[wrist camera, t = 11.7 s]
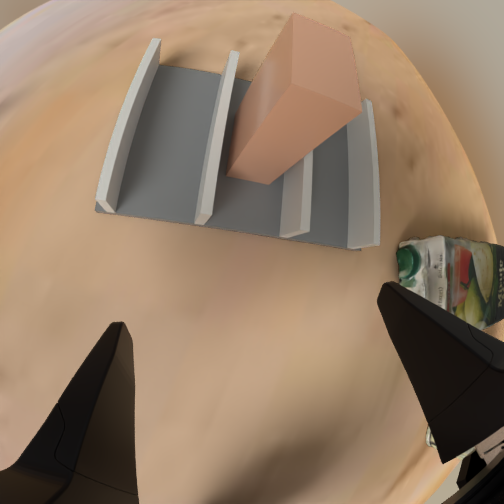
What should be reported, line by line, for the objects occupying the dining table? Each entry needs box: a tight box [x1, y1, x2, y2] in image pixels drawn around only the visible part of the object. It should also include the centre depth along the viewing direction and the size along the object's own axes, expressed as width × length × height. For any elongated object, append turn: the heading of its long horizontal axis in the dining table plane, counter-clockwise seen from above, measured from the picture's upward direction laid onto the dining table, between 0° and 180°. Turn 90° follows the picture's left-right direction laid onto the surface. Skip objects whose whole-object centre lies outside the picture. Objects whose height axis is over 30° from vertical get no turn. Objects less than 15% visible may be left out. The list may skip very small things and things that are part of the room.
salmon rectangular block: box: [226, 13, 362, 185], centre depth 13 cm, size 5×3×10 cm, turn 174°
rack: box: [95, 38, 380, 251], centre depth 17 cm, size 12×19×4 cm, turn 84°
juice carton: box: [396, 235, 504, 330], centre depth 22 cm, size 20×10×6 cm, turn 90°
